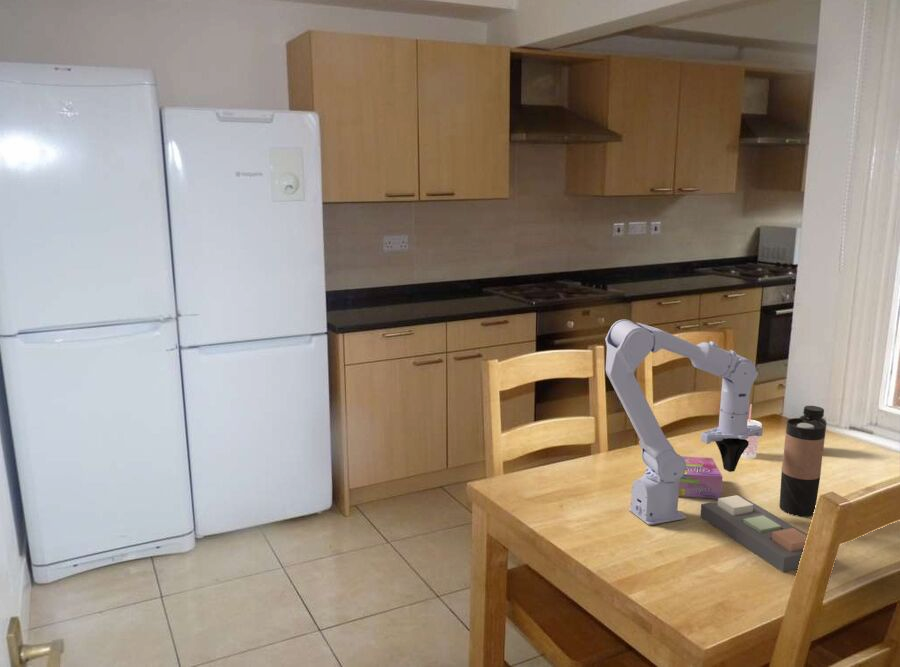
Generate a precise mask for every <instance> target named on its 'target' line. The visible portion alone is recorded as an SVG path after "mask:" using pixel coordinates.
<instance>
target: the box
mask: <svg viewBox="0 0 900 667" xmlns="http://www.w3.org/2000/svg"><path fill="white" fill-rule="evenodd" d="M680 456H681V457H683V459H684V460H685V463H686V471H685V473H684V475H683V476H682V477H681V478H680V480H679V495H678V498H679V497H680V498H695V499H696V498H697V499H698V498H699V499H715V500H716V499H717V500H718V498H722V487H723V474H722V473H721V471H720V469H719V468H718V466H717V464H716V462H715V460H714V458H713V457H707V456H706V457H705V456H686V455H685V456H683V455H680Z"/></svg>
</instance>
